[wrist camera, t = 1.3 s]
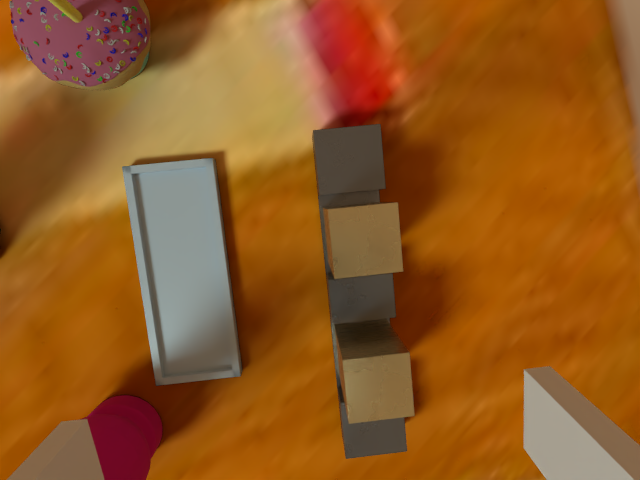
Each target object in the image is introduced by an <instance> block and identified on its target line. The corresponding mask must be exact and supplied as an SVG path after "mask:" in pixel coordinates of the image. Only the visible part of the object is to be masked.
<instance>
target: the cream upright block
mask: <svg viewBox="0 0 640 480" xmlns="http://www.w3.org/2000/svg"><path fill="white" fill-rule="evenodd" d="M334 328H335V338H336V348H337V358H338V368H339V377H340V382H341V387H342V392H343V397H344V402H345V407H346V412H347V417H348V422H349V424H352V423H360V422H368V421H377V420H385V419H394V418H402V417H410V416H415V415H414V403H413V390H412V377H411V364H410V352H409V351H408V349H407V348H406V347H405V345H404V344H403V342H402V341H401V339H400V338H399V337H398V335H397V334H396V332H395V331H394V329H393V328H392V326H391V325H390V324H389V322H388V321H387V320H378V321H369V322H360V323H351V324H342V325H334Z"/></svg>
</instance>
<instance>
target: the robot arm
mask: <svg viewBox="0 0 640 480" xmlns="http://www.w3.org/2000/svg"><path fill="white" fill-rule="evenodd" d="M524 449H525V450H526V452H527V453H528V455H529V456H530V457H531V459H532V460H533V461H534V463H535V464H536V466H537V467H538V468H539V470H540V471H541V472H542V474H543V475H544V477H545V478H546V479H547V480H640V445H638V444H637V443H636V442H635V441H634V440H633V439H632V438H631V437H629V436H628V435H627V434H626V433H625V432H624V431H623V430H621V429H620V428H619V427H618V426H617V425H616V424H615V423H614V422H612V421H611V420H610V419H609V418H608V417H607V416H606V415H604V414H603V413H602V412H601V411H600V410H599V409H598V408H597V407H595V406H594V405H593V404H592V403H591V402H590V401H589V400H587V399H586V398H585V397H584V396H583V395H582V394H581V393H580V392H578V391H577V390H576V389H575V388H574V387H573V386H572V385H570V384H569V383H568V382H567V381H566V380H565V379H564V378H563V377H561V376H560V375H559V374H558V373H557V372H556V371H555V370H553V369H552V368H551V367H550V366H549V367H540V368H531V369H524ZM7 480H104V476H103V473H102V469H101V466H100V462H99V459H98V455H97V452H96V448H95V445H94V441H93V438H92V434H91V431H90V427H89V424H88V420H87V419H81V420H73V421H64V422H61V423H60V424H59V425H58V426H57V427H56V428H55V429H54V430H53V431H52V433H51V434H50V435H49V436H48V437H47V438H46V439H45V440H44V441H43V442H42V443H41V444H40V445H39V446H38V447H37V448H36V449H35V451H34V452H33V453H32V454H31V455H30V456H29V457H28V458H27V459H26V460H25V461H24V462H23V463H22V464H21V465H20V466H19V467H18V469H17V470H16V471H15V472H14V473H13V474H12V475H11V476H10V477H9V478H8V479H7Z"/></svg>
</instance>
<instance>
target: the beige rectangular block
mask: <svg viewBox="0 0 640 480" xmlns="http://www.w3.org/2000/svg"><path fill="white" fill-rule="evenodd" d="M323 217H324V227H325V237H326V247H327V257H328V263H329V266H330V268H331V271H332V274H333V276H334V279H339V278H348V277H357V276H367V275H376V274H385V273H394V272H403V261H402V249H401V236H400V223H399V210H398V202H373V203H363V204H354V205H344V206H334V207H324V208H323Z"/></svg>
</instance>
